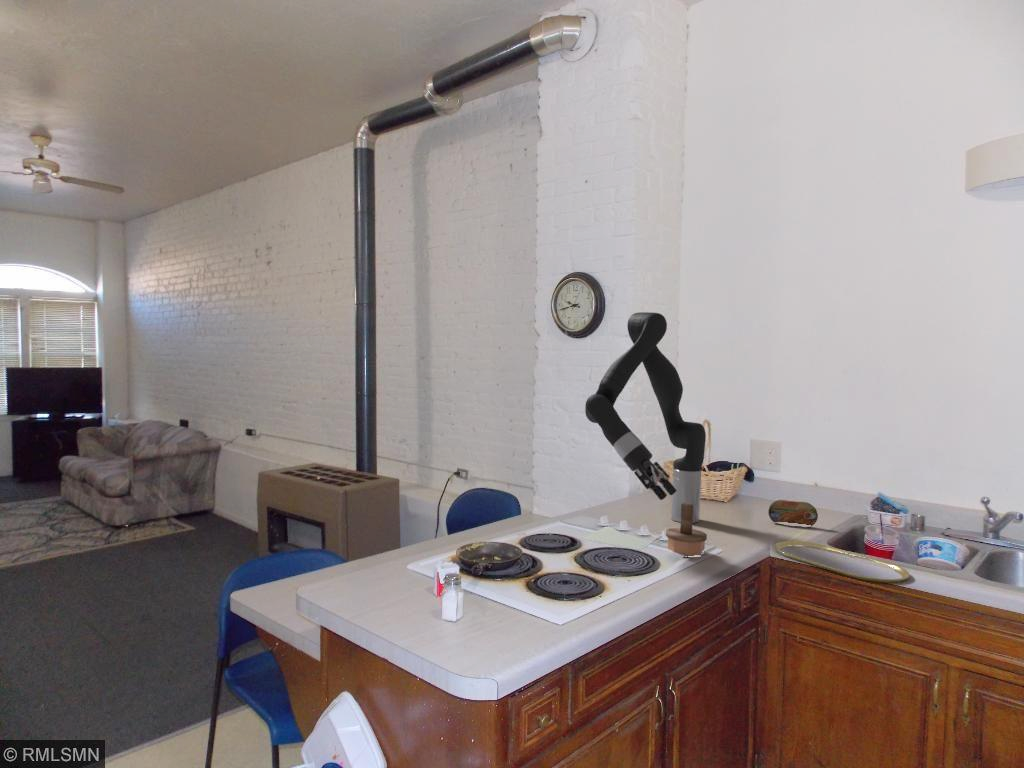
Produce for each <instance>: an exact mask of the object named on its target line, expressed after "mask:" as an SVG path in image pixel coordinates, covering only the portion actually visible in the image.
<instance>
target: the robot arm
mask: <svg viewBox="0 0 1024 768" xmlns="http://www.w3.org/2000/svg"><path fill="white" fill-rule="evenodd" d="M667 327H668V323H667V319H666V317H665V316H664V315H663V314H661V313H659V312H651V311H649V312H645V311H643V312H635V313H632V314H631V315H630V317H629V318H628V320H627V332H628V335H629V338H630V340H631V342H632V346H631V347H630V348H628V349H627V350H626V351H625V352H624V353H623V354H622V355H620V356H619V357H618V358H617V359H615V361H613V363H612V364H611V365H609V367H608V369H607V370H606V372H605V373H604V375H603V377H602V379H601V380H600V382H599V385H598V389H597V391H596V392H595V393H593V394H591V395H590V396H588V397H587V399H586V401H585V405H584V406H585V408H584V412H585V416H586V418H587V420H588V421H589V422H591V423H593V424H598V425H599V427H600V429H601V431H602V434H603V436H604V438H606V440H607V441H608V442H609V443H610V445H611V446H612V448H613V449H614V450H615V451H616V454H617V455H619V457H620V458H621V459H622V461H623V462H624V463H625V465H626V466H627V467H628V468H629V470H631V471H632V472H634V475H635V476H636V477H637V479H638V480H639V481H640V482H641V484H642V485H643V486H644V488H645V489H646V490H651V491H653V493H654V494H655V496H657V498H658V499H659V500H660V501H662V500H664V499H665V498H667V496H668V495H667V493H668V494H669V495H670V496H671V507H670V508H671V511H670V512H671V513H670V519H671V520H672V521H675V522H678V523H679V522H680V523H681V504H682V503H688V504H693V524H695V523H699V522H700V510H701V491H702V490H701V488H702V487H701V486H702V469H703V468H702V467H703V464H704V461H705V460H704V459H705V449H706V441H707V440H706V437H707V435H706V434H707V433H706V430H705V427H704V425H703V424H701V423H699V422H693V421H685V420H684V419H683V417H682V414H681V412H680V403H681V400H682V397H683V391H684V388H683V387H684V385H683V383H682V381H681V377H680V375H679V373H678V371H677V369H676V367H675V366H674V365H673V363H672V362H671V361H670V360H669V358H667V356H666V355H664V354H663V352H662V351H661V350H660V349H659V348H658V346H657V345H658V344H659V343H660V342H661V340H662V339H663V338H664V336H665V335H666V333H667V330H668V328H667ZM641 363H642V364H643V367H644V369H645V372H646V374H647V376H648V379H649V382H650V384H651V387H652V390H653V393H654V395H655V397H656V399H657V402H658V404H659V408H660V411H661V413H662V414H661V415H662V417H663V419H664V423H665V424H664V425H665V428H666V432H667V435H668V438H669V441H670V443H671V445H673V447H674V448H675V447H676V448H677V449H683V450H686V451H685V454H684V456H683V457H679V458H676V459H675V460H674V461H673V465H672V466H673V467H672V469H673V470H672V483H671V482H670V474H668V473H667V472H666V470H664V468H662V466H661V465H660V464H659V463H658V461H655V462H654V463H653V462H652V461H651V459H652V458H653V454H652V453H651V452H650V450H649V448H647V447H646V445H645V444H644V443H643V441H642V440H640V438H639V437H638V436H637V435H636V434H635V433H634V432H633V430H631V429H630V428H629V427H628V426H627V424H626V423H625V422H624V421H623V420H622V418H621V416H620V415H619V414H618V412H617V410H616V409H615V407H614V406H615V403H616V401H617V400H618V398H619V396H620V394H621V393H622V391H623V390H624V389H625V387H626V385H627V383H628V382H629V380H630V379H631V377H632V376H633V374H634V373H635V371H636V370H637V369H638V367H639V366H640V365H641ZM659 484H660V485H659ZM661 485H662V487H663V488H664V489H665V490H666V491H667V493H666V492H665V490H663V488H662V487H661Z"/></svg>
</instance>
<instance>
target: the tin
mask: <svg viewBox="0 0 1024 768" xmlns="http://www.w3.org/2000/svg"><path fill="white" fill-rule="evenodd" d="M767 512H768V517H769V519H770V520H771V521H772V522H773V523H774V522H788V523H798V524H806V525H811V527H812V526H814V525H815V524H816V523H817V522H818V519H819V516H818V511H817V509H816V507H814V505H812V504H811V503H810V502H808V501H807V502H806V501H799V500H798V501H796V500H795V501H794V500H788V499H787V500H785V499H778V500H775V501H773V502H771V504H770V505H769V508H768V511H767Z"/></svg>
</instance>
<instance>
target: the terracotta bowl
mask: <svg viewBox="0 0 1024 768" xmlns="http://www.w3.org/2000/svg"><path fill="white" fill-rule="evenodd" d="M705 545H706V540H705V541H703V542H683V541H677V540H673V539H670V538H668V537H667V549H669V550H670V551H672V552H673V553H677V554H682V555H684V556H687V557H688V556H694V555H701V553H702V551H703V550H704V549H705Z"/></svg>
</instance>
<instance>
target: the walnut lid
mask: <svg viewBox="0 0 1024 768" xmlns="http://www.w3.org/2000/svg"><path fill="white" fill-rule="evenodd" d="M693 524H694V523H693V504H688V503H682V504H681V522H680V527H673V528H672V527H671V528H668V529H666V530H665V536H666V537H667V539H668V538H670V539H673V540H677V541H683V542H703V541H705V542H706V541H707V539H708V538H707V537H708V535H707V534H706V532H704V531H701V530H697V529H694V528H693Z"/></svg>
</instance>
